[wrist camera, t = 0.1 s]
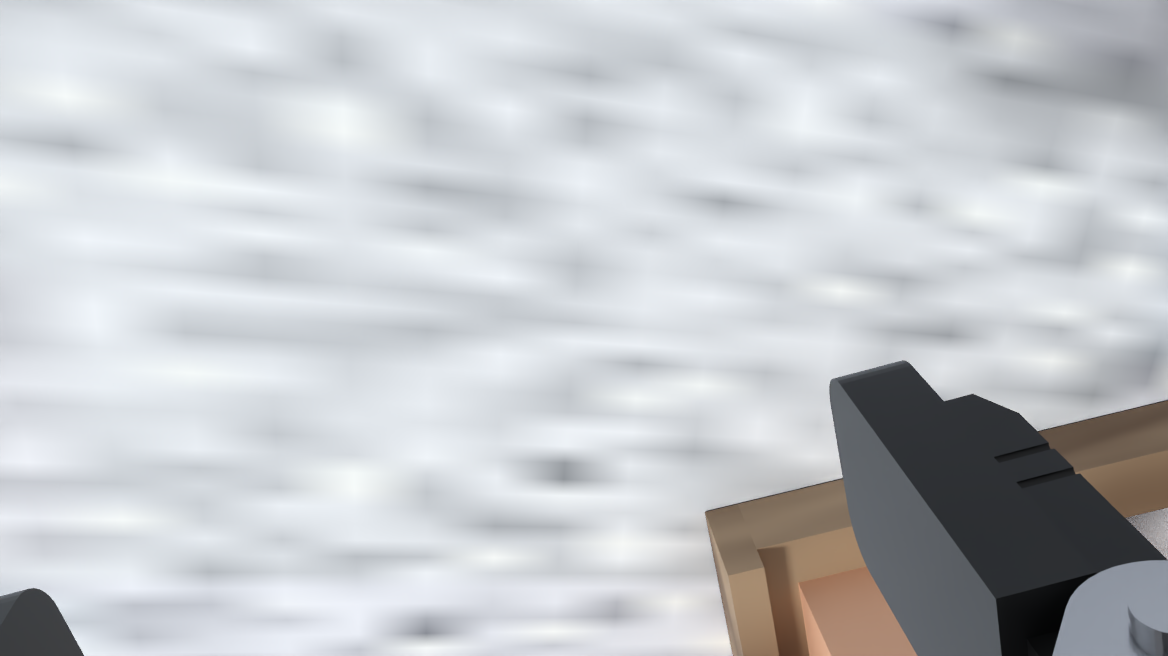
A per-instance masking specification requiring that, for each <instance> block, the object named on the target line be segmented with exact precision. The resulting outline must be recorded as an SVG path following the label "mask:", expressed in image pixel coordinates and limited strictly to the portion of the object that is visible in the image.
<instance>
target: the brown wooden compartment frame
mask: <svg viewBox="0 0 1168 656" xmlns="http://www.w3.org/2000/svg"><path fill="white" fill-rule="evenodd" d="M1038 433H1039V434H1040V435H1041V436H1042V437H1043V438H1044V439H1045V440H1046V441H1047V442H1049V447H1050V449H1054V448H1055V449H1056V450H1057V451H1058V452H1059V453H1060V454H1061V455H1062V456H1063V457H1064V458H1065V459H1066V460H1067V461H1068V462H1069V463H1070V464H1071V465H1072V466H1073V468H1074V472H1075V474H1079V473H1080V474H1081V475H1082V476H1083V477H1084V478H1085V479H1086V480H1087V481H1088V482H1089V483H1090V484H1091V485H1092V486H1093V487H1094V488H1095V489H1096V490H1097V491H1098V492H1099V493H1100V494H1101V495H1102V496H1103V497H1104V498H1105V499H1106V500H1107V501H1108V502H1109V503H1110V504H1111V505H1112V506H1113V507H1114V508H1115V509H1116V510H1117V511H1118V512H1119V513H1120V514H1121V515H1122V516H1123V517H1124V518H1127V517H1131V516H1135V515H1139V514H1143V513H1147V512H1151V511H1155V510H1160V509H1164V508H1168V401H1164V402H1160V403H1156V404H1152V405H1147V406H1143V407H1139V408H1135V409H1131V410H1127V411H1123V412H1118V413H1114V414H1110V415H1106V416H1102V417H1098V418H1093V419H1089V420H1085V421H1081V422H1077V423H1073V424H1069V425H1064V426H1060V427H1056V428H1052V429H1048V430H1044V431H1039V432H1038ZM705 515H706V520H707V526H708V531H709V536H710V541H711V546H712V551H713V556H714V562H715V567H716V572H717V577H718V582H719V587H720V592H721V597H722V603H723V608H724V613H725V618H726V623H727V628H728V633H729V638H730V644H731V649H732V654H733V656H809V649H808V643H807V636H806V630H805V623H804V617H803V610H802V604H801V598H800V591H799V585H798V583H799V582H803V581H808V580H812V579H816V578H820V577H824V576H828V575H832V574H837V573H841V572H845V571H849V570H853V569H857V568H861V567H866V564H865V562H864V559H863V557H862V555H861V552H860V549H859V547H858V544H857V541H856V538H855V534H854V531H853V527H852V524H851V520H850V515H849V510H848V505H847V499H846V493H845V487H844V481H843V479H840V480H836V481H832V482H828V483H823V484H819V485H815V486H811V487H807V488H803V489H799V490H794V491H790V492H786V493H782V494H778V495H774V496H770V497H765V498H761V499H757V500H753V501H749V502H745V503H740V504H736V505H732V506H728V507H724V508H720V509H716V510H711V511H707V512H705Z"/></svg>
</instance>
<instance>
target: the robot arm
mask: <svg viewBox="0 0 1168 656" xmlns="http://www.w3.org/2000/svg"><path fill="white" fill-rule="evenodd" d="M830 402H831V409H832V415H833V421H834V427H835V433H836V439H837V445H838V451H839V457H840V463H841V469H842V475H843V481H844V487H845V493H846V499H847V505H848V510H849V515H850V520H851V524H852V527H853V531H854V534H855V538H856V541H857V544H858V547H859V549H860V552H861V555H862V557H863V559H864V562H865V564H866V566H867V568H868V570H869V572H870V574H871V576H872V577H873V579H874V581H875V583H876V584H877V586H878V588H879V590H880V591H881V593H882V595H883V597H884V598H885V600H886V602H887V604H888V605H889V607H890V609H891V611H892V612H893V614H894V616H895V617H896V619H897V621H898V623H899V624H900V626H901V628H902V630H903V631H904V633H905V635H906V637H907V638H908V640H909V642H910V644H911V645H912V647H913V649H914V651H915V652H916V654H917V656H1168V560H1167V559H1166V558H1165V557H1164V556H1163V555H1162V554H1161V553H1160V552H1159V551H1158V550H1157V549H1156V548H1155V547H1154V546H1153V545H1152V544H1151V543H1150V542H1149V541H1148V540H1147V539H1146V538H1145V537H1144V536H1143V535H1142V534H1141V533H1140V532H1139V531H1138V530H1137V529H1136V528H1135V527H1134V526H1133V525H1132V524H1131V523H1130V522H1129V521H1127V520H1126V519H1125V518H1124V517H1123V516H1122V515H1121V514H1120V513H1119V512H1118V511H1117V510H1116V509H1115V508H1114V507H1113V506H1112V505H1111V504H1110V503H1109V502H1108V501H1107V500H1106V499H1105V498H1104V497H1103V496H1102V495H1101V494H1100V493H1099V492H1098V491H1097V490H1096V489H1095V488H1094V487H1093V486H1092V485H1091V484H1090V483H1089V482H1088V481H1087V480H1086V479H1085V478H1084V477H1083V476H1082V475H1081V474H1080V473H1079V474H1075V472H1074V468H1073V466H1072V465H1071V464H1070V463H1069V462H1068V461H1067V460H1066V459H1065V458H1064V457H1063V456H1062V455H1061V454H1060V453H1059V452H1058V451H1057V450H1056V449H1055V448H1054V449H1050V447H1049V442H1047V441H1046V440H1045V439H1044V438H1043V437H1042V436H1041V435H1040V434H1039V433H1038V432H1037V431H1036V430H1035V429H1034V428H1033V427H1032V426H1031V425H1030V424H1029V423H1028V422H1027V421H1026V420H1025V419H1024V418H1023V417H1022V416H1021V415H1020V414H1019V413H1017V412H1015V411H1012V410H1010V409H1008V408H1005V407H1003V406H1000V405H998V404H996V403H993V402H991V401H988V400H986V399H984V398H981V397H979V396H977V395H974V394H971V395H967V396H963V397H959V398H955V399H952V400H948V401H943V400H942V399H941V398H940V397H939V395H938V394H937V393H936V392H935V391H934V390H933V389H932V388H931V387H930V385H929V384H928V383H927V382H926V381H925V380H924V379H923V378H922V377H921V375H920V374H919V373H918V372H917V371H916V370H915V369H914V368H913V366H912V365H911V364H910V363H908V362H907V361H899V362H895V363H891V364H887V365H884V366H880V367H876V368H872V369H868V370H865V371H861V372H857V373H853V374H850V375H846V376H842V377H838V378H834V379H832V380H831V382H830ZM0 656H84V655H83V653H82V651H81V649H80V647H79V646H78V644H77V642H76V640H75V638H74V636H73V635H72V633H71V631H70V629H69V627H68V625H67V624H66V622H65V620H64V618H63V616H62V614H61V613H60V611H59V609H58V607H57V606H56V604H55V603H54V601H53V600H52V599H51V598H50V596H49V595H47V594H46V593H45V592H43V591H41V590H40V589H35V588H32V589H27V590H23V591H19V592H15V593H11V594H8V595H4V596H0Z"/></svg>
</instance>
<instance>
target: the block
mask: <svg viewBox="0 0 1168 656" xmlns="http://www.w3.org/2000/svg"><path fill="white" fill-rule="evenodd" d="M798 585H799V591H800V598H801V604H802V610H803V617H804V623H805V630H806V636H807V643H808V649H809V656H917V654H916V652H915V651H914V649H913V647H912V645H911V644H910V642H909V640H908V638H907V637H906V635H905V633H904V631H903V630H902V628H901V626H900V624H899V623H898V621H897V619H896V617H895V616H894V614H893V612H892V611H891V609H890V607H889V605H888V604H887V602H886V600H885V598H884V597H883V595H882V593H881V591H880V590H879V588H878V586H877V584H876V583H875V581H874V579H873V577H872V576H871V574H870V572H869V570H868V568H867V566H866V567H861V568H857V569H853V570H849V571H845V572H841V573H837V574H832V575H828V576H824V577H820V578H816V579H812V580H808V581H803V582H799V583H798Z"/></svg>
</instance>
